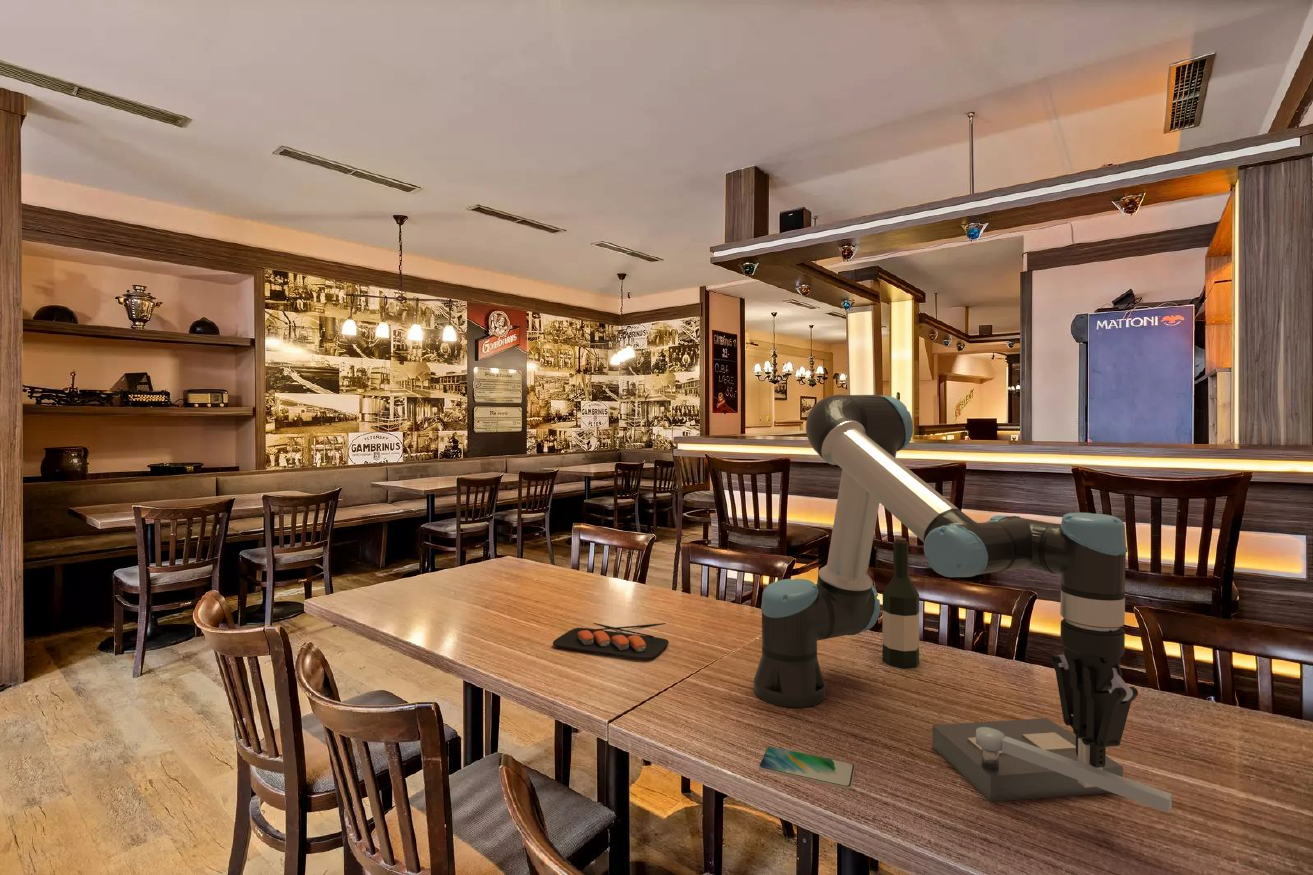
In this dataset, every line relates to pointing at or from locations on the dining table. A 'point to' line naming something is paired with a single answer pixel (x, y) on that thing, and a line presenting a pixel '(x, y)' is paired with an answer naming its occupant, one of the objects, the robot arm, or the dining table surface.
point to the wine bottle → (900, 613)
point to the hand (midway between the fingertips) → (1089, 784)
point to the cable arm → (1074, 769)
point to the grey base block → (1013, 760)
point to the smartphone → (808, 767)
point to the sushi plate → (613, 641)
